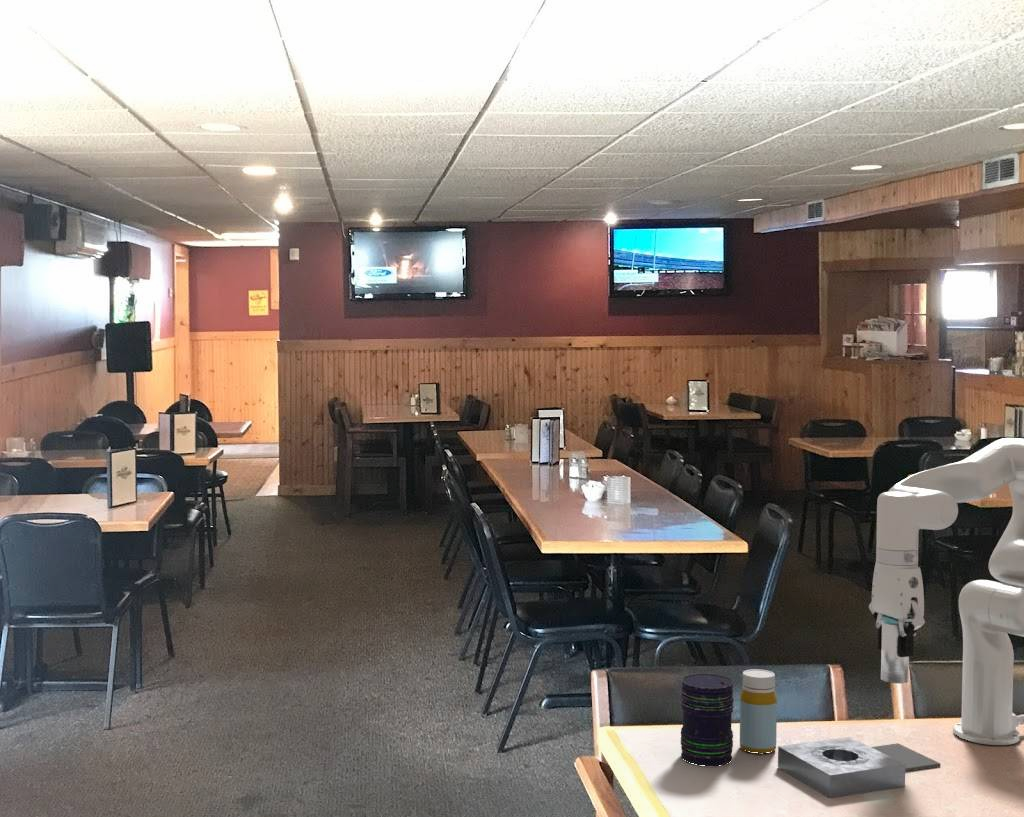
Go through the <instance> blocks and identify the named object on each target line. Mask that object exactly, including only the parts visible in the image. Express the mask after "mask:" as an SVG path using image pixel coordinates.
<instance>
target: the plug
mask: <svg viewBox="0 0 1024 817" xmlns="http://www.w3.org/2000/svg"><path fill="white" fill-rule="evenodd" d="M907 619H908V616H907ZM907 626H908V622H905V627H907ZM898 636H900V629H899V623H898V620H897V619H894V618H891V617H888V616H885V615H883V616H882V646H881V650H880V651H881V653H880V654H881V659H880V663H881V664H880V680H882V682H883V681H884V682H886V683H891V684H907V683H909V677H910V676H909V675H910V656H909V657H899V656H898V654H897V653H898Z"/></svg>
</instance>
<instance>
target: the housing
mask: <svg viewBox="0 0 1024 817" xmlns="http://www.w3.org/2000/svg"><path fill="white" fill-rule="evenodd" d="M777 747H778V748H777V768H778V767H779V768H778V769H780V768H781V769H780V770H781V771H783V770H784V771H783V772H785V771H786V773H787V774H788V773H789V775H791V776H792V777H793V776H794V777H793V778H795V779H797V780H799V781H800V782H802V783H803V784H806V785H808V786H809V787H810V788H812V789H814V790H815V791H818V792H819V793H821V794H823V795H824V796H826V797H828V798H829V799H831V798H837V797H844V796H850V795H858V794H863V793H871V792H877V791H882V790H888V789H889V790H890V789H896V788H902V787H906V772H905V764H904V763H902V762H900V761H898V760H896V759H894V758H892V757H890V756H888V755H886V754H884V753H882V752H880V751H877V750H875V749H873V748H871V747H872V746H869V745H867V744H866V743H863V742H861V741H859V740H857V739H855V738H854V737H851V736H846V737H844V736H843V737H837V738H831V739H823V740H816V741H815V740H814V741H808V742H799V743H793V744H786V745H778V746H777Z"/></svg>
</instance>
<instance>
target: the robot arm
mask: <svg viewBox="0 0 1024 817" xmlns="http://www.w3.org/2000/svg"><path fill="white" fill-rule="evenodd" d="M1007 485H1008V487H1009V488H1008V489H1009V491H1010V492H1009V493H1010V497H1011V501H1012V514H1011V518H1010V520H1009V521H1008V524H1007V526H1006V528H1005V530H1004V531H1003V533H1002V535H1001V537H1000V538H999V540H998V542H997V544H996V546H995V547H994V549H993V551H992V552H991V553H992V554H991V555H990V558H989V561H988V566H987V567H988V570H989V573H990V575H991V576H992V577H993V578H994V579H995V580H997V581H995V580H989V579H976V580H972V581H970V582H967V583H966V584H965V585H964V586H963V587H962V588H961V591H960V593H959V596H958V611H959V612H958V613H959V615H960V621H961V628H962V680H961V681H962V682H961V719H960V720H961V721H960V722H957V723H955V724H954V725H953V726H952V732H953V734H954V735H955V736H956V735H957V736H956V737H958V736H959V737H958V738H960V739H963V740H964V739H965V740H964V741H967V740H968V742H970V743H975V744H981V745H988V746H1011V745H1014V744H1017V743H1018V742H1020V741H1021V733H1020V732H1019V730H1017V728H1018V727H1019V725H1024V714H1018V715H1017V714H1015V713H1014V712H1013V700H1014V699H1013V697H1014V696H1013V694H1014V693H1013V692H1014V662H1015V657H1014V656H1015V654H1014V653H1015V652H1014V649H1013V648H1014V647H1013V644H1012V642H1011V641H1012V640H1011V639H1010V636H1009V635H1008V634H1010V635H1014V636H1019V637H1024V438H1021V437H1020V438H1017V437H1005V438H1004V437H1003V438H1000V439H996V440H994V441H993V442H991V443H990V444H988V445H986V446H984V447H982V448H980V449H978V450H977V451H976V452H974V453H972V454H970V455H969V456H966V457H965V458H963V459H962V460H960V461H957V462H953V463H948V464H945V465H940V466H937V467H933V468H929V469H926V470H923V471H919V472H917V473H914V474H911V475H910V476H907V477H906V478H904V479H902V480H901V481H899V482H897V483H896V484H894V485H893V486H892V487H891V488H889V490H888V491H884V492H882V493H879V495H878V497H877V504H876V547H875V548H876V552H875V554H876V555H875V556H876V557H875V563H874V564H875V565H874V570H873V577H872V588H871V602H870V603H868V609H869V611H870V612H871V614H872V616H873V618H874V620H875V627H876V628H877V649H878V650H880V651H881V646H882V616H883V615H885V616H888V617H891V618H894V619H897V620H898V623H899V629H900V636H898V653H897V654H898V656H899V657H909V658H910V657H913V656H914V645H915V644H914V641H915V639H914V637H915V636H916V635H917V632H918V630H920V628H921V627H923V625H925V623H926V621H925V619H924V615H925V595H924V584H923V583H924V582H923V575H922V570H921V567H919V566H918V565H919V532H920V530H931V531H932V530H933V531H939V530H945V529H946V528H949V527H950V526H952V525H953V524H954V523H955V521H956V520H957V517H958V514H959V507H958V506H959V505H958V504H961V503H969V502H970V503H971V502H976V501H981V500H984V499H986V498H987V497H989V496H990V495H992V494H994V493H995V492H997V491H999V490H1000V489H1001V488H1004V487H1005V486H1007ZM907 616H908V619H907ZM905 622H908V626H907V627H905Z"/></svg>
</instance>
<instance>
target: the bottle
mask: <svg viewBox="0 0 1024 817" xmlns="http://www.w3.org/2000/svg"><path fill="white" fill-rule="evenodd" d="M775 688H776V675H775V673H774V672H773V671H770V670H766V669H759V668H758V669H757V668H756V669H755V668H754V669H753V668H752V669H751V668H750V669H746V670H744V671H742V690H741V693H740V696H739V697H740V698H739V747H740V748H741V750H743V749H744V750H746V751H750V752H758V753H766V752H771V751H773V752H775V750H776V749H777V722H778V720H777V719H778V718H777V714H778V712H777V711H778V705H777V704H778V701H777V700H778V698H777V694H776V690H775ZM744 750H743V751H744ZM746 751H745V752H746Z"/></svg>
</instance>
